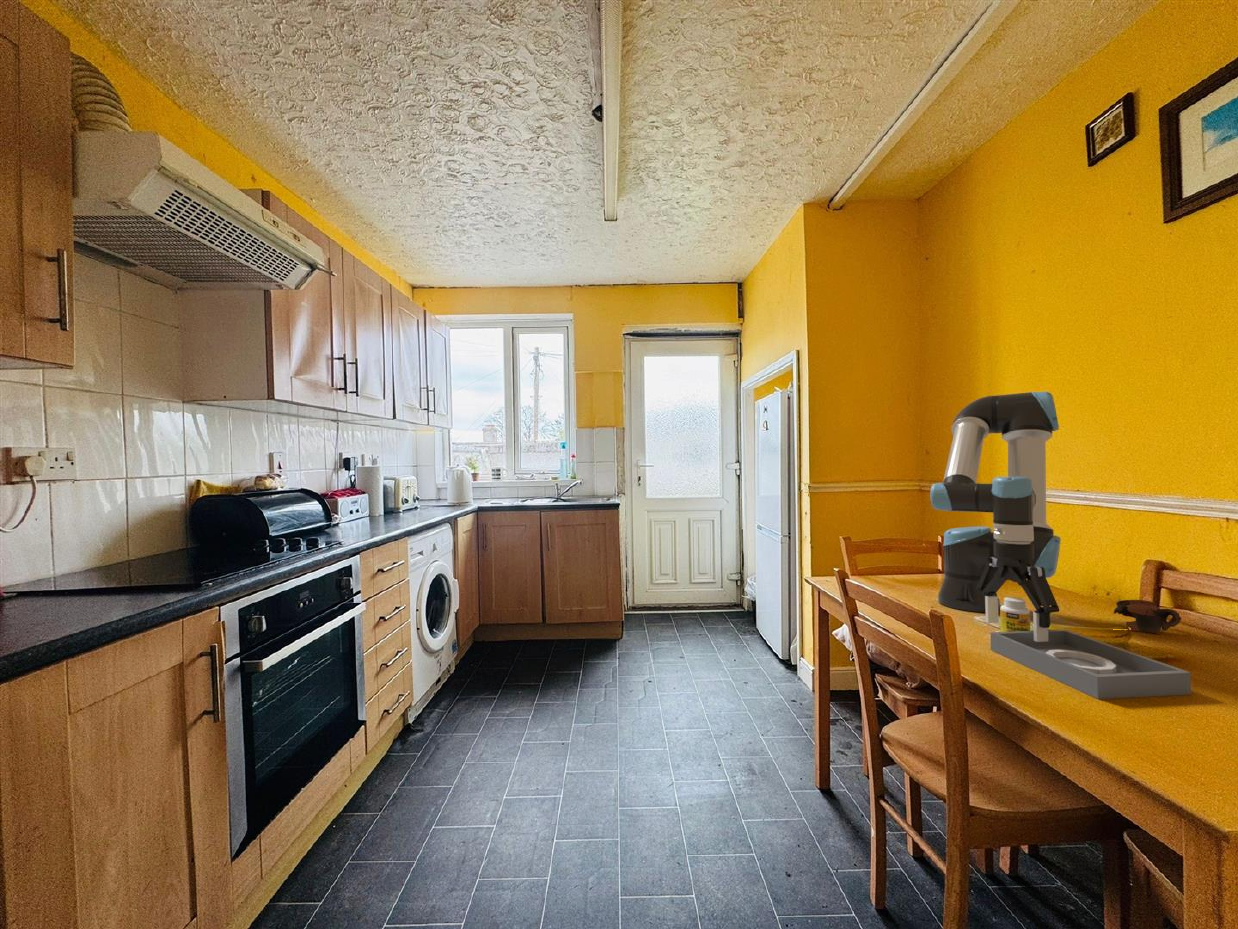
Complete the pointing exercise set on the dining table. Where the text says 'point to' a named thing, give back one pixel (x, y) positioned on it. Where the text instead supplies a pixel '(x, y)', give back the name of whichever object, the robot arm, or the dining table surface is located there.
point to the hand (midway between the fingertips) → (1015, 631)
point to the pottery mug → (1147, 616)
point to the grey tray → (1092, 665)
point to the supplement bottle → (1014, 615)
